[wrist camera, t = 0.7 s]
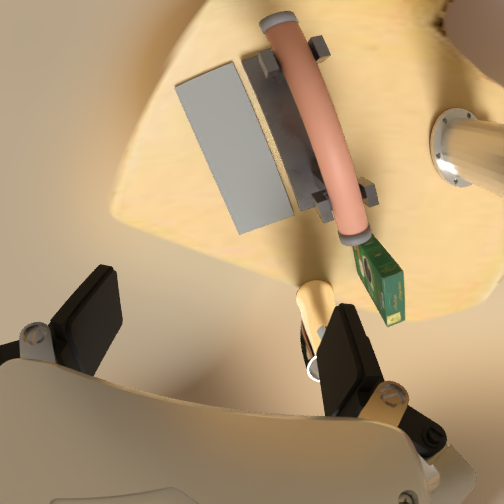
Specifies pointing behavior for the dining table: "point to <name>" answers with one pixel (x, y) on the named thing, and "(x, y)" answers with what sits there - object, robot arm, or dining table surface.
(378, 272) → the coffee box
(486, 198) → the dining table surface
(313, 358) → the beer glass
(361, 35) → the dining table surface
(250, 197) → the mat
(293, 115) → the hook stand
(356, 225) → the rod
